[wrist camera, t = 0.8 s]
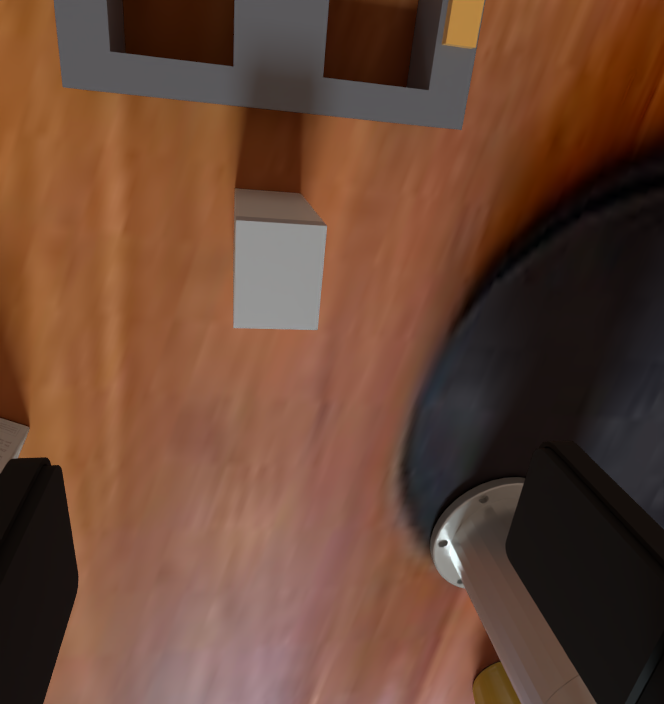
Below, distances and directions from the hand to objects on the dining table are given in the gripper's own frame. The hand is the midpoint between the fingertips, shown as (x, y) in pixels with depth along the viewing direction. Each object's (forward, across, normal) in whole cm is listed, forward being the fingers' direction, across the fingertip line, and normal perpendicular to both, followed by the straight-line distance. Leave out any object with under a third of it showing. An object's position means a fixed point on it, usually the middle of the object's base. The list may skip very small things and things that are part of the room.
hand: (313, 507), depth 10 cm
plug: (+25, -1, 0) cm, 25 cm away
